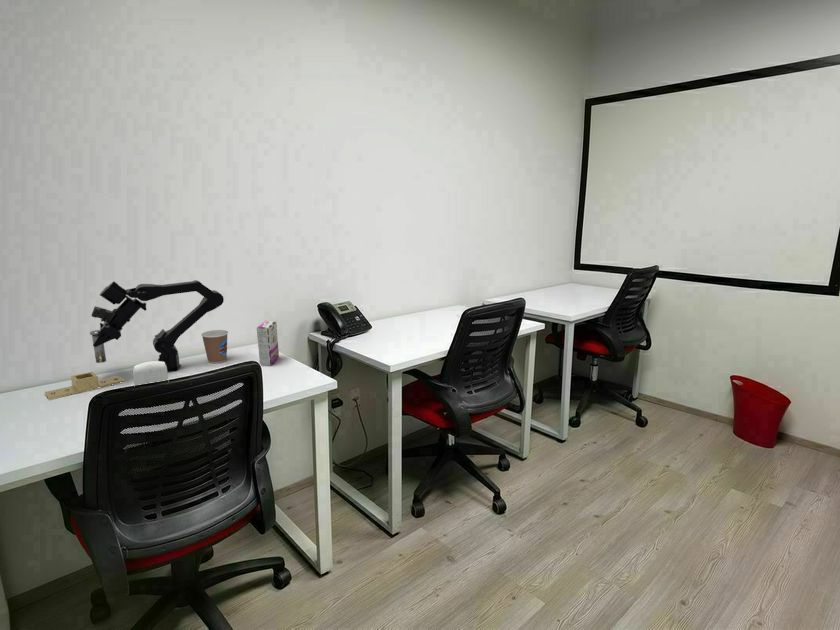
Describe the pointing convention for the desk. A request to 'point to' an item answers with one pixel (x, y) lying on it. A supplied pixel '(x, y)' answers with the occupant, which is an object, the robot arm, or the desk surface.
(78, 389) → the brass socket plate
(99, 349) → the hinge pin
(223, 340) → the coffee cup
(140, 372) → the photo printer
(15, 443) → the desk surface
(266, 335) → the candy bar box
